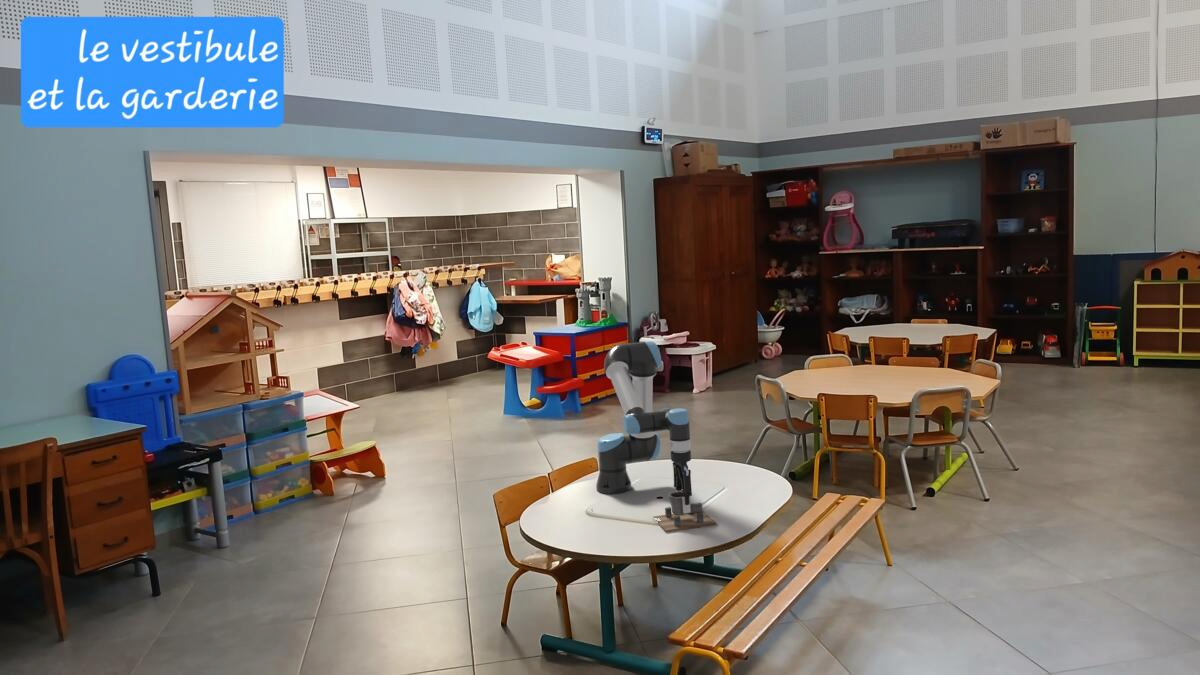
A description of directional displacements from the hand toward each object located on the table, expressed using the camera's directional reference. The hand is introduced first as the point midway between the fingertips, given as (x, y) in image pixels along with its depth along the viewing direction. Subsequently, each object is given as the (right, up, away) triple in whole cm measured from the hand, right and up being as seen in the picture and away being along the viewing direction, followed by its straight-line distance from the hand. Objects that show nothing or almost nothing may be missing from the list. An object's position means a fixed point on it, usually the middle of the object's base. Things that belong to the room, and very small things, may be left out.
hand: (683, 509), depth 324 cm
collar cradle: (0, -5, +1) cm, 5 cm away
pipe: (+1, -2, +1) cm, 2 cm away
